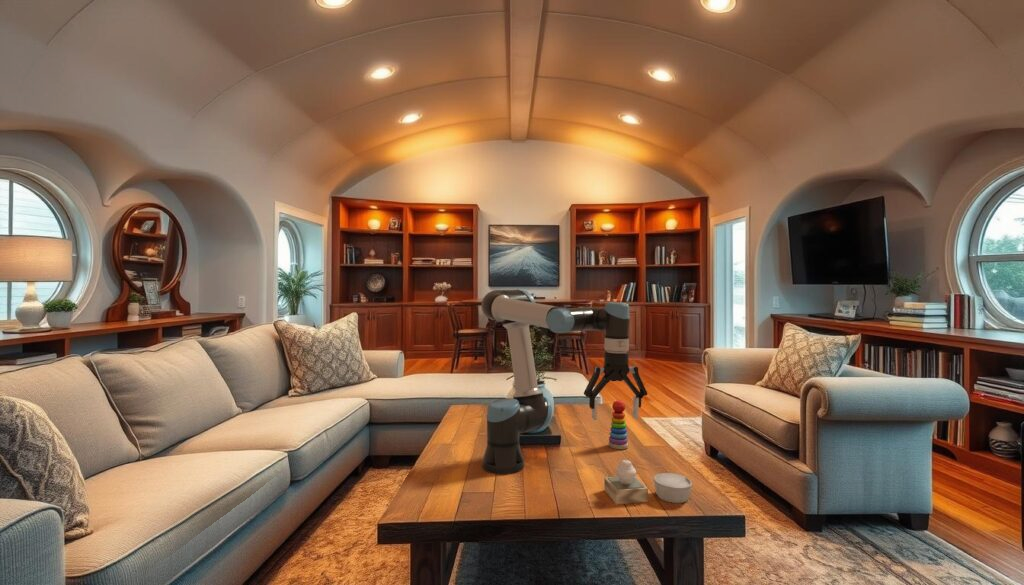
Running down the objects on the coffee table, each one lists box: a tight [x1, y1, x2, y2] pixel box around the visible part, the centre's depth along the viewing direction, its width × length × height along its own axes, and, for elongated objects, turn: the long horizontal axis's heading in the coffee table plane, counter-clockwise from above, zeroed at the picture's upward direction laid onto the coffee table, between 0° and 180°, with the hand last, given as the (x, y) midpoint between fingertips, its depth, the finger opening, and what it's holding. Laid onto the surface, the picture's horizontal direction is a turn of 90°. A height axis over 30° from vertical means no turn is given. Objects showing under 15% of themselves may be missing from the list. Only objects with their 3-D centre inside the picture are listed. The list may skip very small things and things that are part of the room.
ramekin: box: [653, 472, 693, 504], centre depth 143 cm, size 11×11×5 cm
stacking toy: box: [608, 399, 629, 450], centre depth 188 cm, size 8×8×19 cm
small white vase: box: [615, 459, 637, 484], centre depth 143 cm, size 6×6×7 cm
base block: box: [603, 476, 649, 505], centre depth 143 cm, size 10×10×4 cm
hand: (615, 418), depth 147 cm, fingers open, 13 cm apart
